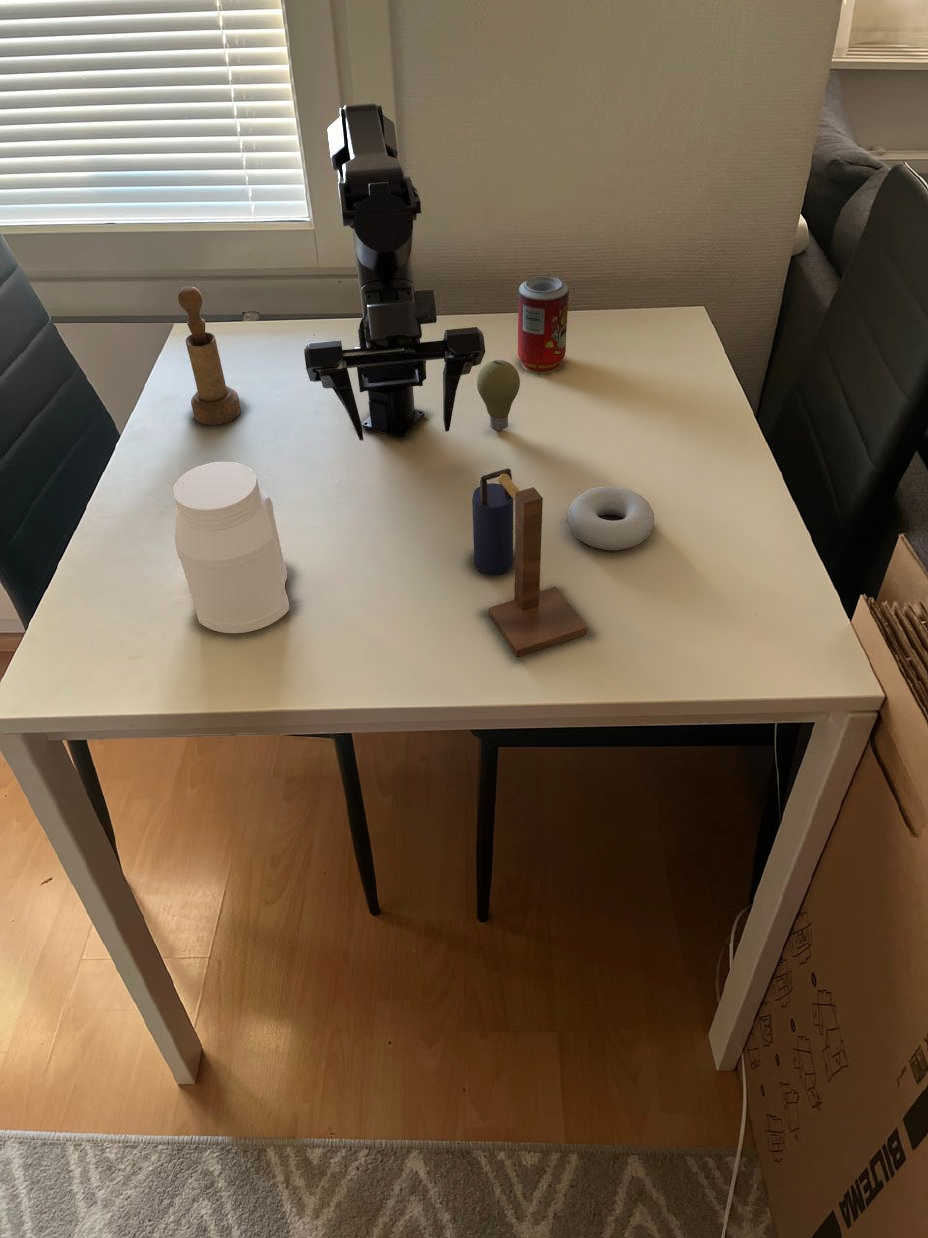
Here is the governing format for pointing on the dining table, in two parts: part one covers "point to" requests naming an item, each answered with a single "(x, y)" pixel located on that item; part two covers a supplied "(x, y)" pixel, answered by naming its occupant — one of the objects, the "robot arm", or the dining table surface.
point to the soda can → (542, 323)
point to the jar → (229, 548)
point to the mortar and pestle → (206, 367)
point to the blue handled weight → (493, 526)
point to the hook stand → (532, 586)
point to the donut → (611, 532)
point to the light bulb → (498, 391)
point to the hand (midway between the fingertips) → (404, 435)
